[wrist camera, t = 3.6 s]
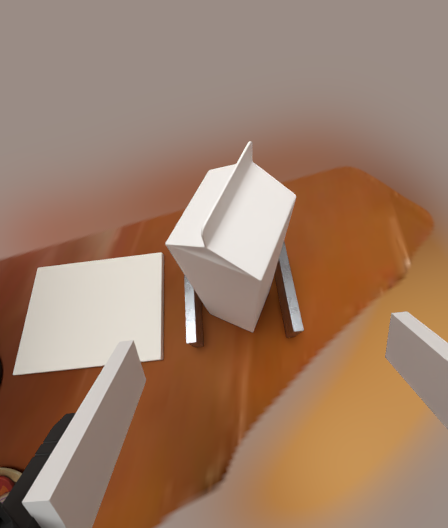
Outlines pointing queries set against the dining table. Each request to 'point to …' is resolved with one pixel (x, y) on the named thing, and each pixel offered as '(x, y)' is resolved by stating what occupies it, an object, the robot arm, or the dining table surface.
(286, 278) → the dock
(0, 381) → the mug
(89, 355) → the board
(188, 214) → the milk
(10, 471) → the toy sandwich meal
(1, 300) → the dining table surface
